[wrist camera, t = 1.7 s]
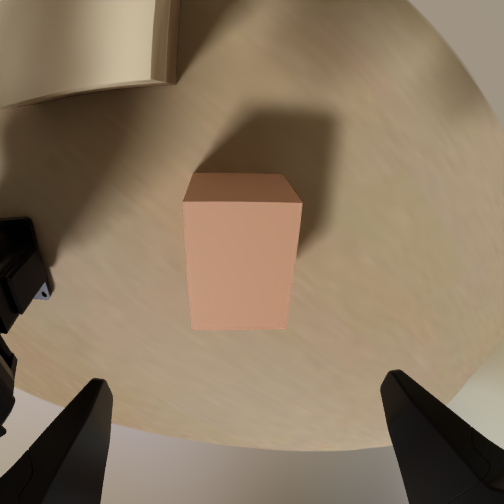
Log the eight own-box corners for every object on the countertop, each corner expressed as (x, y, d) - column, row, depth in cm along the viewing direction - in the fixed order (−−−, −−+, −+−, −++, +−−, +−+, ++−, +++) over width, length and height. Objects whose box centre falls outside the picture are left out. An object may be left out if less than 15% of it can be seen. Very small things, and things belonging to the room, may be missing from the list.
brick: (196, 278, 20) (191, 330, 16) (193, 172, 17) (182, 201, 13) (273, 277, 21) (286, 328, 16) (282, 173, 17) (302, 203, 13)
